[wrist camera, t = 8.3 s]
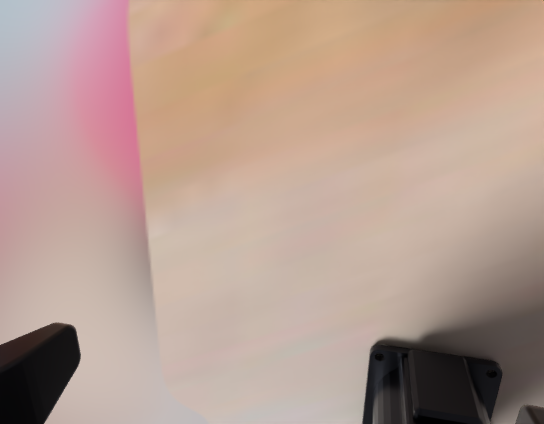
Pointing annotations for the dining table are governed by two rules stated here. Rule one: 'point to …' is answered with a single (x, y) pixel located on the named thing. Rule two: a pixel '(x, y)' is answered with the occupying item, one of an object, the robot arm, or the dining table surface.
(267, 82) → the dining table surface
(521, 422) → the robot arm
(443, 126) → the dining table surface
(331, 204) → the dining table surface
